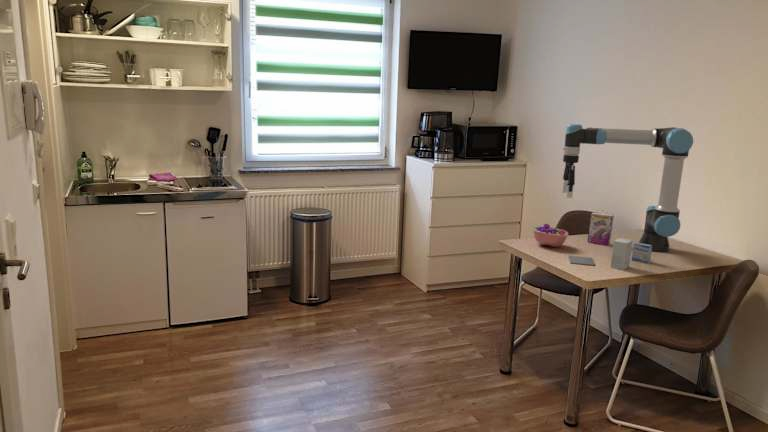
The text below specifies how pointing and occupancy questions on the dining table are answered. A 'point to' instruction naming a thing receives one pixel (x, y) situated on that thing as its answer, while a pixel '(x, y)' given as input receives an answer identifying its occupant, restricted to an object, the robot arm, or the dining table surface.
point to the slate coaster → (581, 260)
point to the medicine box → (641, 252)
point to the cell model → (549, 235)
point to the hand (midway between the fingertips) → (567, 195)
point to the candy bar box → (600, 228)
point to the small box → (621, 253)
